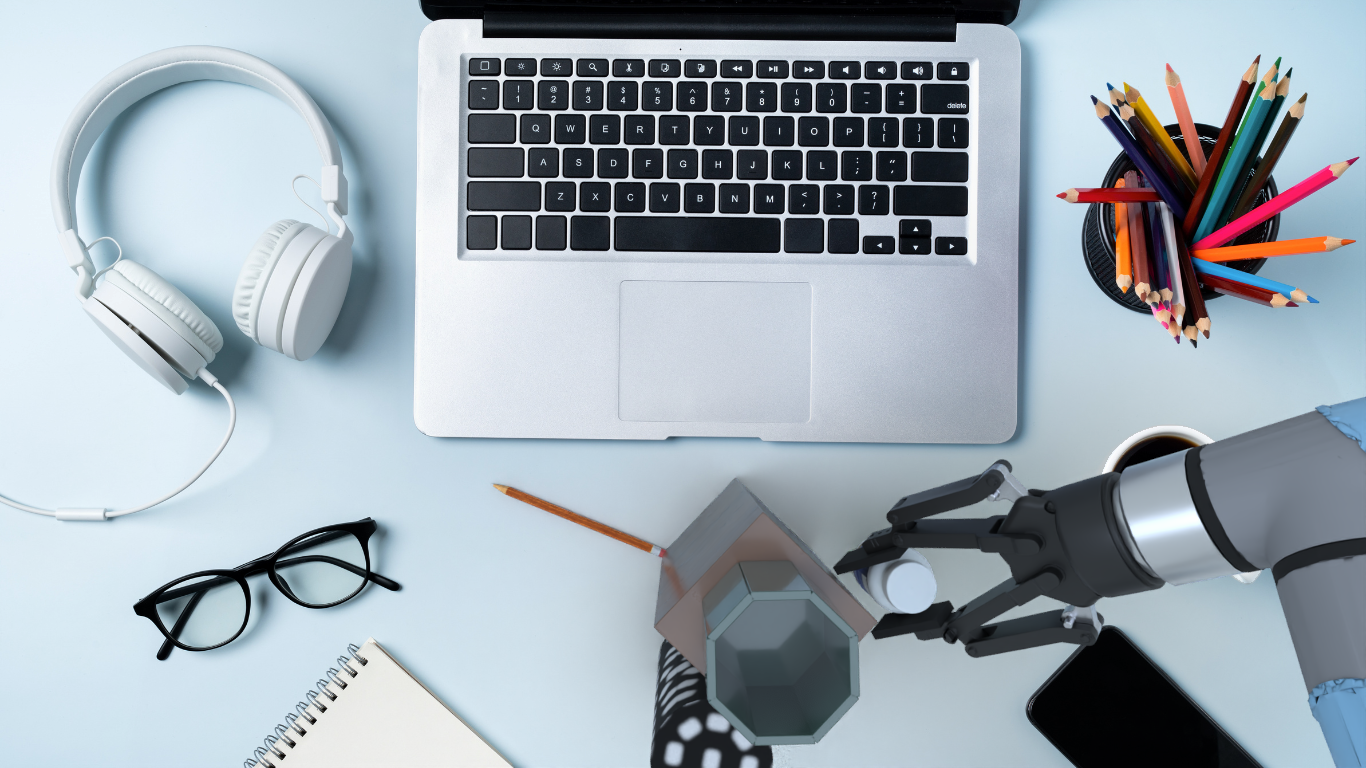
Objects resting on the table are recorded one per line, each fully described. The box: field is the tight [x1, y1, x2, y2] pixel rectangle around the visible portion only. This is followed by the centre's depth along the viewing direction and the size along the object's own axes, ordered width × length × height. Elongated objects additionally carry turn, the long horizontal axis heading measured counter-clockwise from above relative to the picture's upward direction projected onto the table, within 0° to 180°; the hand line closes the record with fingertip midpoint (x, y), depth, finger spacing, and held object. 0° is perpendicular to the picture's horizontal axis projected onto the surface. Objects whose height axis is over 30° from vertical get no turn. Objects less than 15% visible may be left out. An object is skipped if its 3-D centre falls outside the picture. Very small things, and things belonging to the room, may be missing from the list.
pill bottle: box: [851, 538, 938, 614], centre depth 64 cm, size 5×5×10 cm
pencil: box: [490, 483, 667, 559], centre depth 72 cm, size 1×18×1 cm, turn 68°
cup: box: [702, 560, 861, 746], centre depth 44 cm, size 8×8×8 cm
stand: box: [653, 477, 879, 676], centre depth 60 cm, size 10×10×24 cm
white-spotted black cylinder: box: [649, 638, 774, 768], centre depth 62 cm, size 8×8×20 cm
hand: (861, 594), depth 64 cm, fingers closed on pill bottle, 5 cm apart
